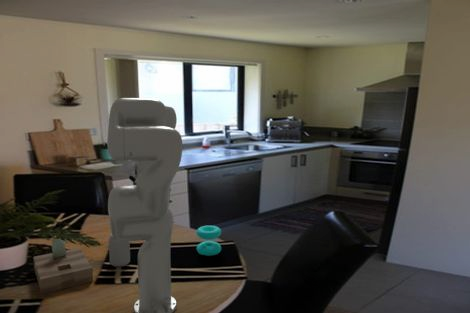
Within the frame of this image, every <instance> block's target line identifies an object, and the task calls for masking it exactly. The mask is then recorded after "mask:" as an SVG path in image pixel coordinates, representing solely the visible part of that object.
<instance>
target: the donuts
mask: <svg viewBox="0 0 470 313" xmlns="http://www.w3.org/2000/svg"><path fill="white" fill-rule="evenodd" d="M221 234H222V229H221V228H220V227H218V226H216V225H203V226H200V227H198V228H197V229H196V235H197V237H199V238H200V239H202V240H205V241H202V242H200V243H198V244H197V246H196V251H197V253H198V254H199V255H202V256H204V255H205V257H212V256H216V255H218V254H220V252H221V251H222V246H221V245H220V243H219V242H217V241H214V240H216V239H218V238H220V237H221ZM212 240H213V241H212Z"/></svg>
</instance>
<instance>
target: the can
mask: <svg viewBox="0 0 470 313" xmlns="http://www.w3.org/2000/svg"><path fill="white" fill-rule="evenodd" d="M130 243H131V241H125V242H120V241H116V240H115V239H114V238H113V236H112V233H111V232H110V236H109V237H108V251H109V252H108V253H109V255H108V256H109V264H110V265H111V266H113V267H116V268H122V267H125V266H127V265H128V264H129V263H130V262H131V247H130Z"/></svg>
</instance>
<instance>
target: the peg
mask: <svg viewBox="0 0 470 313" xmlns="http://www.w3.org/2000/svg"><path fill="white" fill-rule="evenodd" d="M66 246H67V245H66V240H65V241H63V240H61V239H54V238H52V237H51V251H52V252H51V253H53V259H55V260H58V259H63V258H65V257H66Z"/></svg>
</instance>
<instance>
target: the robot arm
mask: <svg viewBox="0 0 470 313" xmlns="http://www.w3.org/2000/svg"><path fill="white" fill-rule="evenodd" d="M176 128H177V113H176V110H175V108H173V107H171V106H168V105H165V104H164V102H162V101H161V100H159V99H156V98H151V97H121V98H116V99H115V100H114V102H113V103H112V105H111V107H110V110H109V115H108V126H107V145H106V146H107V151H108V152H107V153H108V155H109V157H110V158H111V159H112V160H114V161H116V162H134V165H132V166H131V167H129V168H128V169H127V170H125V171H124V172H125V174H126V176H127V179H129V180H130V182H132V184H127V185H126V184H125V185H118V186H115V187H113V188H112V189H111V190H110V192H109V193H108V199H107V212H108V218H109V227H110V234H111V233H112V236H113V238H114V239H115V240H116V241H120V242H125V241H130V242H135V241H136V242H139V241H144V242H143V243H142V244H141V245H140V248H139V250H138V253H137V274H138V275H137V276H138V278H137V279H138V283H137V284H138V299H137V301H135V303H134V305H133V313H174V311H176V309H177V300H176V298H174V296H172V275H171V274H172V270H171V269H172V267H171V265H172V263H171V259H172V258H171V244H172V242H171V241H172V232H173V226H174V217H173V212H172V211H171V210H170V209H169V207H170V198H171V186H172V183H173V181H174V178H175V176H176V174H177V172H178V170H179V168H180V165H181V161H182V156H183V138H182V136H181V133H180V132H179V131H178V130H177V129H176ZM133 172H134V176H133V175H132V173H133Z"/></svg>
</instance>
